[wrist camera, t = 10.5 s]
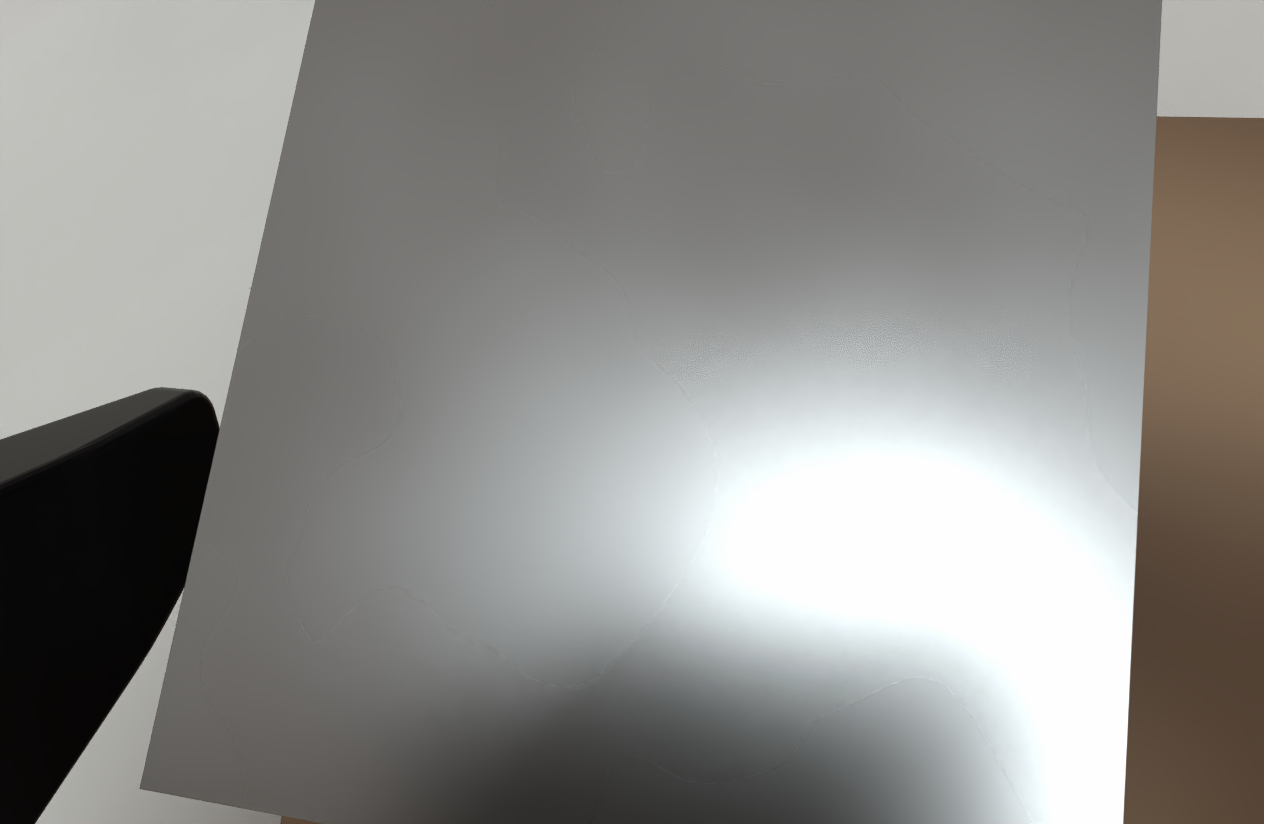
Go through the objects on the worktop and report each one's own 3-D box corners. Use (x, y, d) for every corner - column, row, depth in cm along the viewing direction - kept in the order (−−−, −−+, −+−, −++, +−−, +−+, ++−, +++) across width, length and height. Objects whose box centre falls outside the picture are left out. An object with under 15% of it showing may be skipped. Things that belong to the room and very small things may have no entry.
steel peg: (984, 803, 16) (1116, 972, 5) (658, 751, 17) (139, 788, 6) (1009, 472, 17) (1164, -35, 6) (698, 445, 18) (318, -22, 7)
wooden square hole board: (1312, 1216, 14) (1408, 1338, 11) (349, 995, 17) (236, 1047, 14) (1326, 222, 17) (1406, 121, 14) (493, 192, 20) (422, 104, 17)
